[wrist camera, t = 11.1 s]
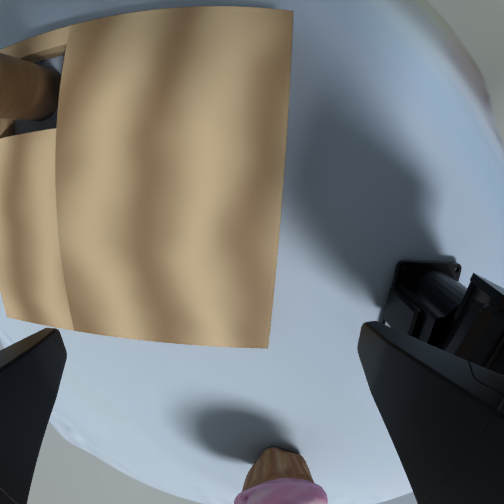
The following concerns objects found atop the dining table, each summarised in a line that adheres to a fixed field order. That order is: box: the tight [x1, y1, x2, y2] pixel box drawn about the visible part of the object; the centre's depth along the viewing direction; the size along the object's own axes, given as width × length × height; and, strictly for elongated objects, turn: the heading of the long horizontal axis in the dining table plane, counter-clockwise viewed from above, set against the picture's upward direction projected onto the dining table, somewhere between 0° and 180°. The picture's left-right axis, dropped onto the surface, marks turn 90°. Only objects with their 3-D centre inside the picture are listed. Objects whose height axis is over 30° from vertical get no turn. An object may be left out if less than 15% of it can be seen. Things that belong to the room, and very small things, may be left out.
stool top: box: [0, 6, 293, 348], centre depth 18 cm, size 22×22×2 cm
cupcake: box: [234, 447, 328, 504], centre depth 23 cm, size 9×9×10 cm
